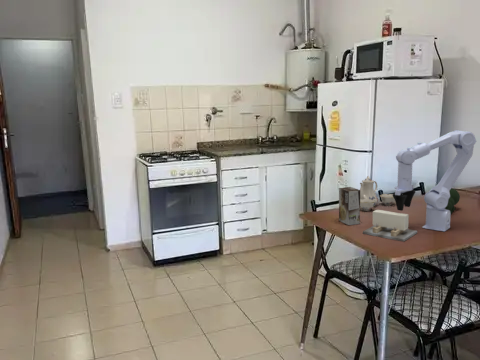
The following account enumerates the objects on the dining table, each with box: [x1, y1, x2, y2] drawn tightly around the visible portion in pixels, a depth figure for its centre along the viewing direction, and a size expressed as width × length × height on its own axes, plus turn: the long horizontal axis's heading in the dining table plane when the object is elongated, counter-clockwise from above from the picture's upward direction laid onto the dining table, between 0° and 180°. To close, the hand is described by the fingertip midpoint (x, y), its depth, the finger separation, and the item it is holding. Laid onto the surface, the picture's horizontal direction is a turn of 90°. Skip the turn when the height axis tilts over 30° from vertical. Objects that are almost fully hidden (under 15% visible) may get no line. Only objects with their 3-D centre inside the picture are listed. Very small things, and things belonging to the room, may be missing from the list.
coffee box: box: [338, 186, 361, 226], centre depth 203 cm, size 9×6×16 cm
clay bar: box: [372, 209, 410, 230], centre depth 185 cm, size 14×4×6 cm, turn 47°
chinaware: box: [359, 175, 395, 212], centre depth 230 cm, size 28×17×17 cm, turn 129°
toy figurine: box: [445, 187, 461, 215], centre depth 215 cm, size 9×19×25 cm
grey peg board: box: [362, 224, 418, 243], centre depth 185 cm, size 18×14×4 cm
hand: (403, 208), depth 189 cm, fingers open, 7 cm apart
